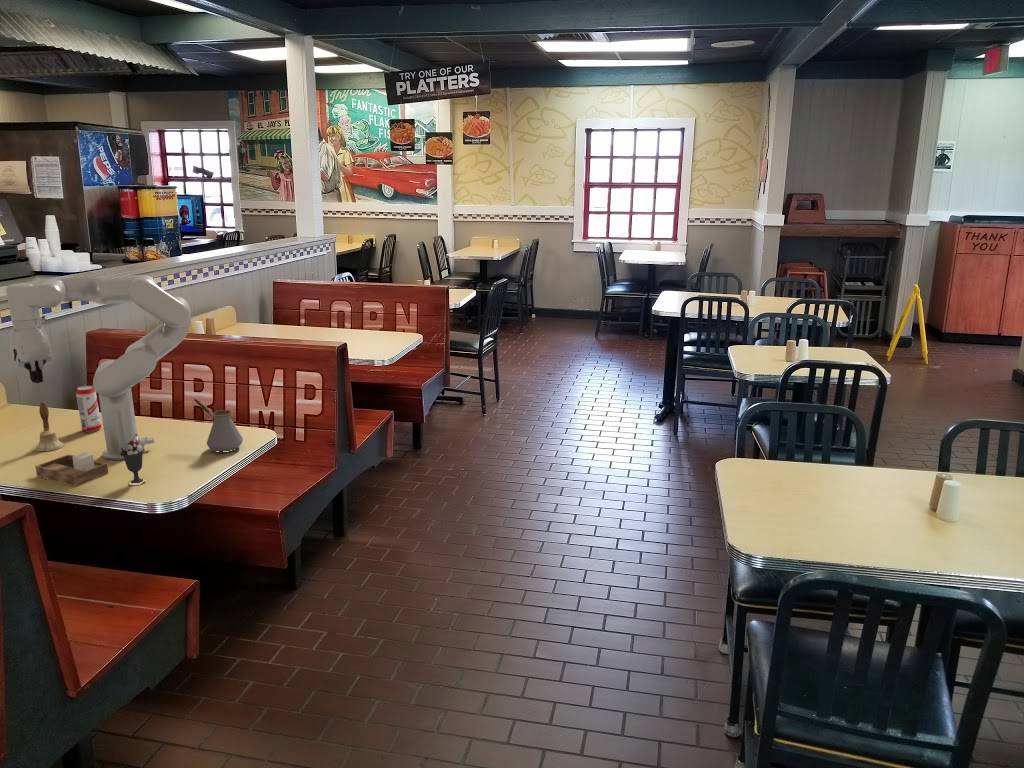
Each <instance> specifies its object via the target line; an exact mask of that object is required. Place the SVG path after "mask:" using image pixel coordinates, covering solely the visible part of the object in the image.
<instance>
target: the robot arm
mask: <svg viewBox="0 0 1024 768" xmlns="http://www.w3.org/2000/svg"><path fill="white" fill-rule="evenodd" d="M5 290H6V297H7V302H8V308H9V312H10V319H11V324H12V329H13V330H10V334H9V345H10V346H9V347H10V354H11V360H12V361H13V362H14V363H15V367H16V368H24V369H25V370H26V371H28V372H29V378H30V381H31V383H33V384H34V383H35V384H39V383H43V382H44V375H43V369H44V366H45V364H46V363H47V362H51V360H52V359H53V358H52V348H51V343H50V339H49V336H48V333H47V331H46V328H45V326H43V323H44V322H45V318H44V317H41V315H40V308H41V309H42V308H43V309H52V308H53V309H54V308H57V307H59V306H60V305H62V303H65V302H66V303H67V302H83V301H85V302H93V303H97V304H99V305H113V304H129V303H131V304H135V305H136V306H138V307H139V308H140V309H141V310H143V311H144V312H146V313H147V314H149V315H151V316H152V317H154V318H155V319H156V320H158V321H159V322H160V324H158V325H157V326H156V327H155V328H154V329H152V330H151V331H150V332H149V333H147V334H146V335H144V336H143V337H142V338H141V337H140V339H138V340H136V341H135V342H134V343H133V342H132V343H131V344H130V345H129V346H128V347H127V348H126V350H125V352H124V354H122V355H121V356H119V357H118V358H117V359H116V360H115V359H109V360H106V361H104V362H101V363H100V365H98V366H97V369H96V370H95V373H94V376H93V381H92V386H93V388H94V389H95V391H96V394H98V399H99V406H100V415H101V421H102V426H103V433H104V439H105V445H106V449H105V450H103V451H102V453H101V455H102V458H104V459H105V460H107V461H108V460H109V461H122V459H123V460H125V459H124V457H123V456H121V455H120V452H121V451H122V450H121V448H122V449H123V450H124V449H125V446H126V444H127V443H129V442H130V440H133V441H134V442H135V441H136V440H137V441H138V442H139V445H140V446H142V448H143V449H144V450H145V445H151V444H154V443H155V440H154V437H148V436H145V437H143V438H141V437H139V436H138V435H137V436H135V434H138V428H137V424H136V416H135V408H134V401H133V393H132V387H134V386H135V385H137V384H139V383H140V382H141V381H143V380H144V379H145V378H147V377H148V376H149V375H151V373H152V372H153V371H154V370H155V368H156V366H157V364H158V363H157V362H158V361H159V360H161V359H162V358H163V357H165V356H166V355H167V354H168V353H170V352H171V351H173V350H174V349H175V348H176V347H177V346H179V344H181V343H182V342H183V341H184V339H185V338H186V337H187V335H188V332H189V331H190V327H191V325H192V324H191V323H192V312H191V306H190V304H189V303H188V301H187V300H186V299H185V298H183V297H181V296H177V295H175V296H172V295H171V294H169V293H167V292H166V291H164V290H163V289H162V288H161V287H159V285H158V282H157V281H156V280H155V279H154V278H153V277H152V276H149V275H146V274H135V275H134V274H133V275H120V276H118V275H114V276H96V277H95V276H94V277H93V276H91V277H65V278H63V277H62V278H51V279H50V278H49V279H48V280H47V279H46V280H45V281H43V282H42V283H40V284H35V285H34V284H32V283H26V282H25V283H24V282H22V283H21V282H19V283H13V284H9V285H8V286H7V287H6V289H5ZM134 437H135V438H134ZM133 438H134V439H133ZM145 451H146V450H145Z"/></svg>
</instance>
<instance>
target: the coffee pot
mask: <svg viewBox="0 0 1024 768" xmlns="http://www.w3.org/2000/svg"><path fill="white" fill-rule="evenodd" d="M194 401H195V403H194ZM191 404H192V405H196V404H197V405H199V407H200V408H201V409H202V410H203V411H204V412H206V413H207V414H208V415H210V417H212V419H213V422H212V425H211V428H210V431H209V435H208V438H207V441H206V445H207V447H208V449H210V450H211V451H213V452H214V451H219V452H223V451H230V450H234V449H236V448H237V449H238V448H239V447H240V446H241V445H242V443H243V440H244V439H243V436H242V435H241V433H240V431H239V430H238V428H237V426H236V425H235V423H234V422H233V419H232V417H231V415H232V414H233V411H232V410H231V409H222V410H221V409H220V410H216V411H213V412H211V411H210V410H209V408H207V406H206V405H205V404H203V403H201V401H199V399H198V398H194V399H193V400H192V401H191ZM237 449H236V450H237Z"/></svg>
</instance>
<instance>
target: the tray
mask: <svg viewBox="0 0 1024 768" xmlns="http://www.w3.org/2000/svg"><path fill="white" fill-rule="evenodd" d="M73 456H75V455H74V454H66V455H63V456H60V457H58V458H55V459H54V458H53V459H51V460H49V461H46V462H43V463H40V464H37V465H35V471H36V473H35V474H36V476H37V477H40V476H41V477H40V478H43V477H45V478H44V479H47V478H48V480H51V481H54V480H55V482H58V481H59V483H62V484H66V485H69V484H70V485H69V486H74V487H78V486H80V485H82V483H83V484H85V483H88V482H90V481H93V480H94V479H98V478H100V477H102V476H105V475H108V474H109V469H108V463H107V462H106V463H105V462H102V461H98V460H94V465H98V466H97V467H95V468H92V469H89V470H87V471H80V470H77V469H74V464H73V458H72V457H73ZM107 473H108V474H107ZM104 474H105V475H104ZM97 477H98V478H97Z"/></svg>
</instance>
